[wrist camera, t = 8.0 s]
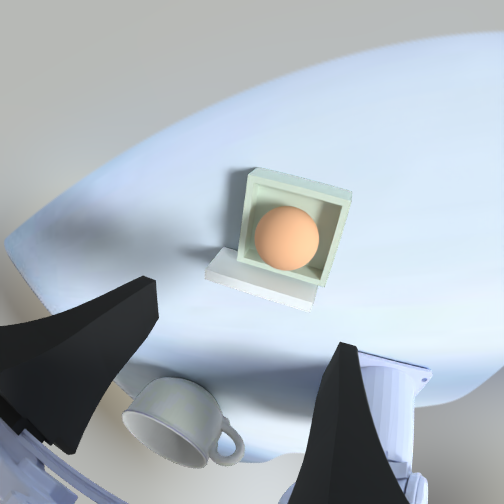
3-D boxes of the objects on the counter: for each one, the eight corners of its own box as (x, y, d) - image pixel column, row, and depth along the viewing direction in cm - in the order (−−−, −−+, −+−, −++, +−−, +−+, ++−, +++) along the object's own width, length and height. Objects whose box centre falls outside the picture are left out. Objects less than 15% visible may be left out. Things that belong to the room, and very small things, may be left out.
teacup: (157, 397, 38) (129, 440, 32) (148, 349, 32) (109, 401, 26) (252, 435, 35) (231, 486, 29) (266, 396, 30) (240, 461, 23)
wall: (317, 284, 21) (310, 312, 19) (222, 256, 22) (204, 278, 20) (320, 275, 21) (313, 303, 18) (223, 246, 22) (205, 269, 20)
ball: (312, 258, 20) (304, 291, 17) (259, 241, 20) (241, 271, 17) (328, 207, 18) (323, 233, 15) (269, 190, 18) (252, 212, 15)
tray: (327, 272, 20) (324, 287, 19) (245, 248, 21) (236, 260, 20) (352, 191, 17) (351, 201, 16) (257, 167, 18) (248, 174, 17)
